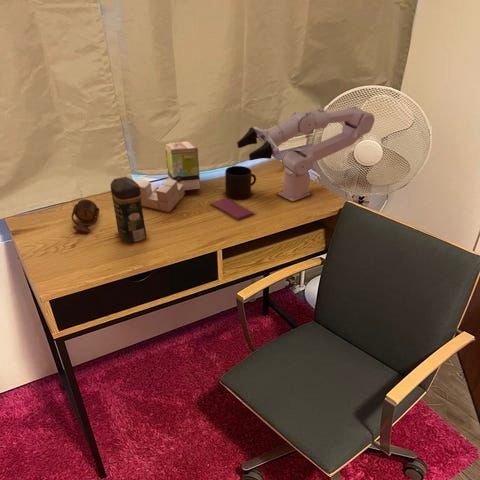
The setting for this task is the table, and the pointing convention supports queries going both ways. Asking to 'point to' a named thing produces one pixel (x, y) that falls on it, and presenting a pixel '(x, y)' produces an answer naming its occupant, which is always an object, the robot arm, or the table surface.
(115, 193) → the coffee jar
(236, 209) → the cloth
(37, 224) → the table surface
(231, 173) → the mug
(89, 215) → the dark brown rounded piece
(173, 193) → the puzzle cube
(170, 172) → the tea box
